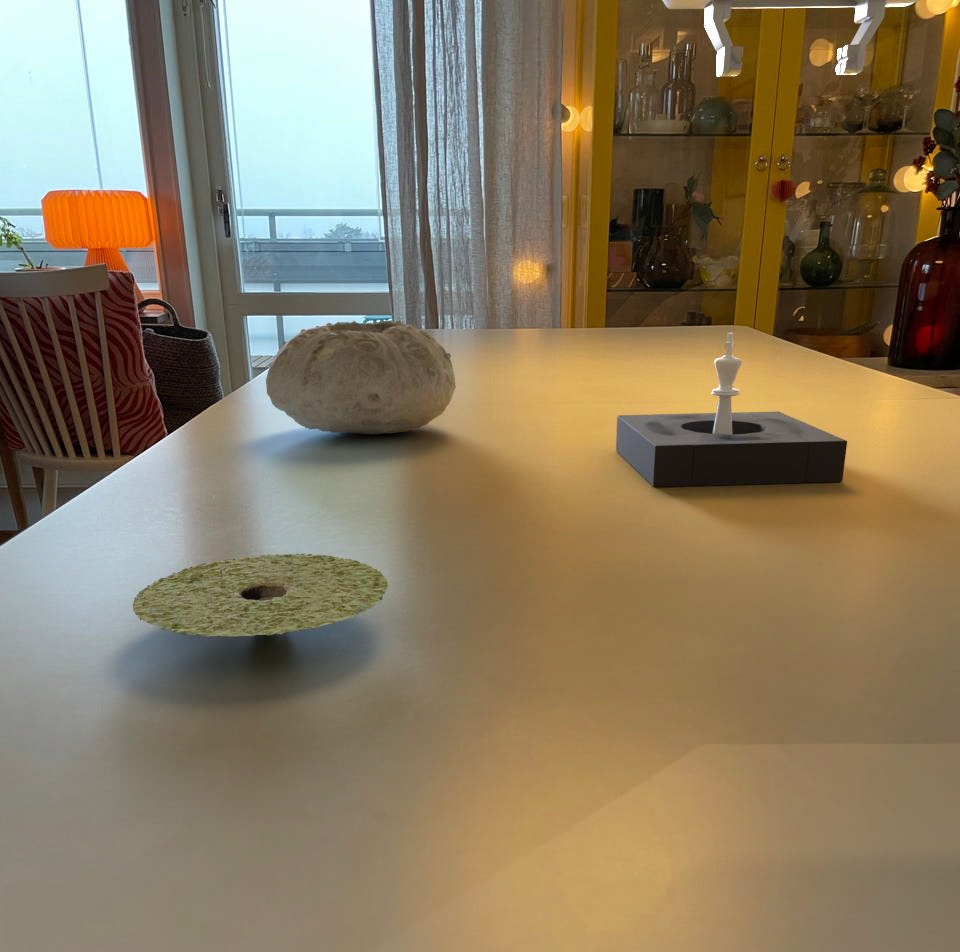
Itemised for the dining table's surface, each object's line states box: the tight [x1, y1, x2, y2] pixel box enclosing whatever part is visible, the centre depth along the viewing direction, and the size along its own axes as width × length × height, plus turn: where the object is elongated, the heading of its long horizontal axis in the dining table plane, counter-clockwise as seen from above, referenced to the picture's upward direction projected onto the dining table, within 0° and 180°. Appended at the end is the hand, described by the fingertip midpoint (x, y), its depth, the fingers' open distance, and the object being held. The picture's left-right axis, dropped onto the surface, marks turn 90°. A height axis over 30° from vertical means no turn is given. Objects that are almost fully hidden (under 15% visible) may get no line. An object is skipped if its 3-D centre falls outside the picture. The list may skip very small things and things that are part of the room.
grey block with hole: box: [615, 411, 848, 488], centre depth 76 cm, size 14×14×3 cm
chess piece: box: [711, 332, 743, 434], centre depth 75 cm, size 5×5×10 cm
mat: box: [132, 553, 389, 638], centre depth 44 cm, size 11×11×2 cm
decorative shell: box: [265, 320, 456, 435], centre depth 92 cm, size 18×18×10 cm
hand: (789, 74), depth 74 cm, fingers open, 8 cm apart
